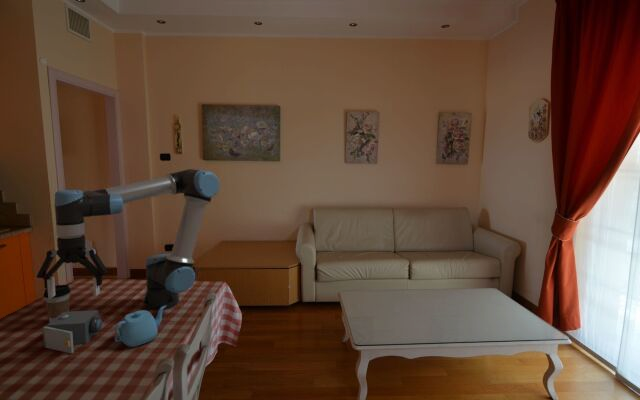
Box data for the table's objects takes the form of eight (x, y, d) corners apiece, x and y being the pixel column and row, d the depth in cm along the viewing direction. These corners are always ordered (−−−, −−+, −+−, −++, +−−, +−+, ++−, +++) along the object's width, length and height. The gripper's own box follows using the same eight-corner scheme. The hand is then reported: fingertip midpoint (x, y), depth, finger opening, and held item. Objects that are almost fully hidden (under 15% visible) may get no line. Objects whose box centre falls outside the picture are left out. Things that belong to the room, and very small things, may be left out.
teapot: (172, 309, 122) (118, 325, 109) (173, 335, 123) (119, 354, 111) (160, 298, 131) (109, 312, 118) (161, 323, 132) (110, 339, 119)
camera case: (106, 329, 126) (105, 307, 125) (93, 343, 117) (92, 320, 115) (64, 331, 124) (63, 310, 122) (48, 346, 114) (46, 323, 113)
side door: (74, 351, 111) (72, 331, 110) (69, 354, 109) (68, 334, 108) (46, 345, 114) (44, 325, 113) (41, 348, 112) (39, 328, 111)
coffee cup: (57, 329, 125) (54, 292, 123) (40, 326, 127) (37, 290, 125) (77, 319, 133) (75, 284, 131) (61, 316, 135) (58, 282, 133)
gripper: (116, 232, 115) (119, 289, 117) (34, 233, 109) (39, 293, 112) (107, 237, 108) (110, 297, 110) (19, 239, 102) (25, 302, 105)
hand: (74, 295), depth 111 cm, fingers open, 13 cm apart
